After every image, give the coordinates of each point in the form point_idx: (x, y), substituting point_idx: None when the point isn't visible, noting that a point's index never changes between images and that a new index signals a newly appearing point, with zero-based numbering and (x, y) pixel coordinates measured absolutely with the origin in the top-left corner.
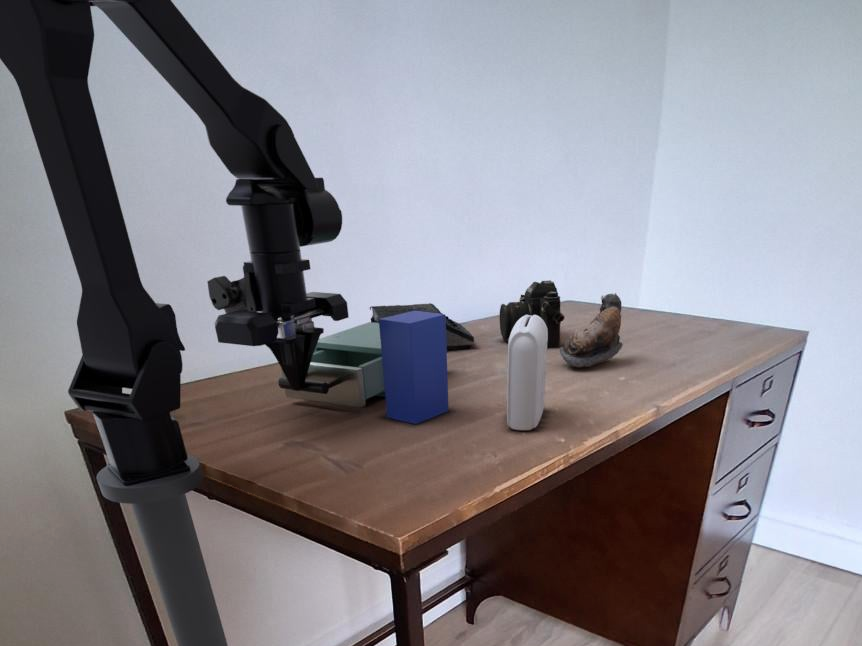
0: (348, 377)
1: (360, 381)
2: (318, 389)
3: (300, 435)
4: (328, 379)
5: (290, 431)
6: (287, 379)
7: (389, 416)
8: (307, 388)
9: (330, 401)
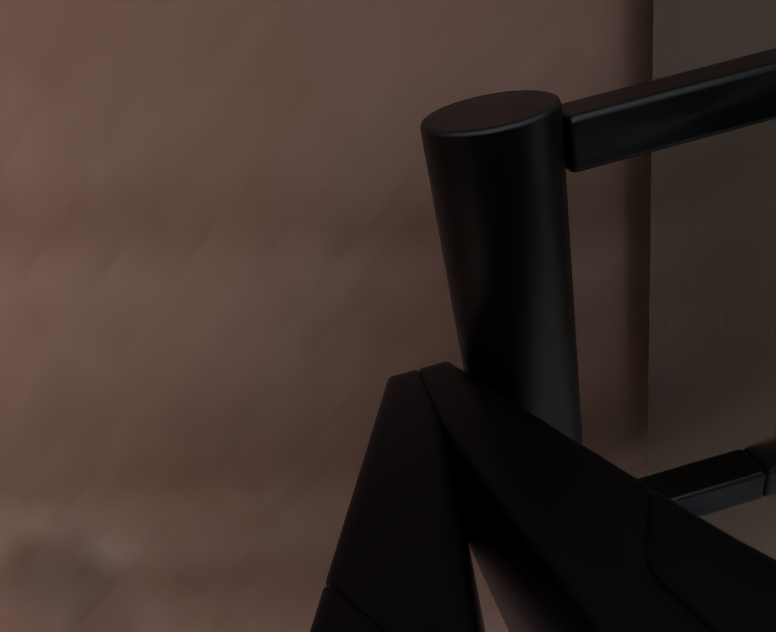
0: None
1: None
2: None
3: (166, 499)
4: (764, 405)
5: (162, 414)
6: (370, 442)
7: None
8: None
9: (656, 300)
